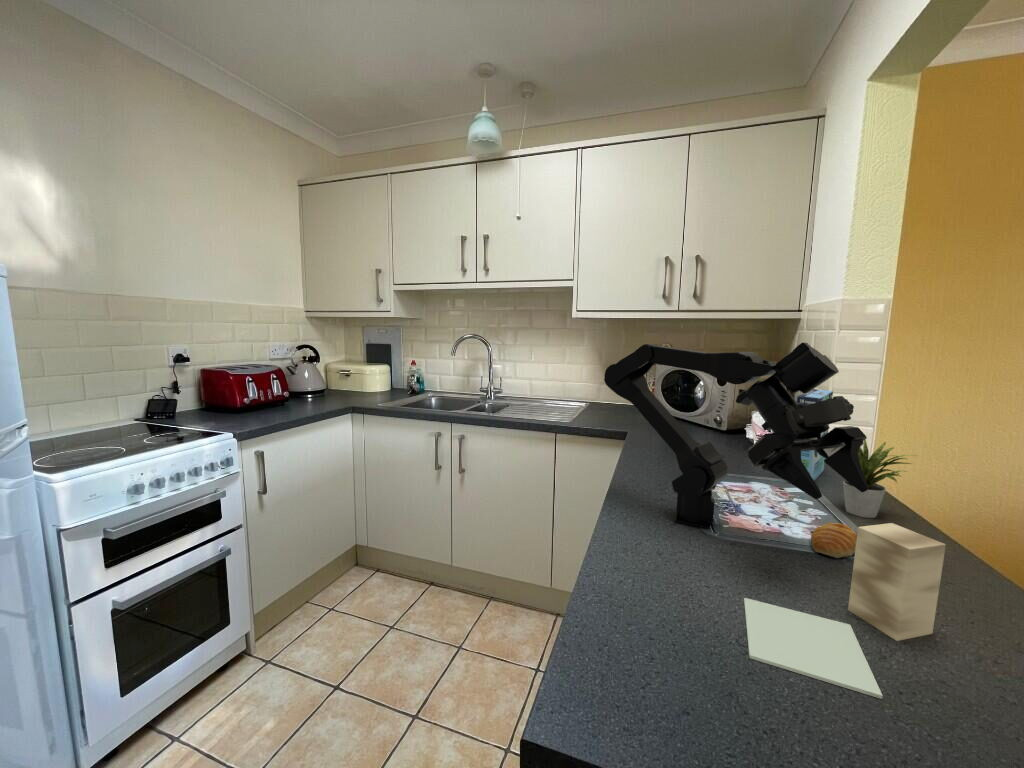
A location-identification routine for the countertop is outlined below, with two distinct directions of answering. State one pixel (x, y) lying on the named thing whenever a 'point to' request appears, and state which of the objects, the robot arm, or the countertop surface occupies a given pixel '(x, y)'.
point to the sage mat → (808, 646)
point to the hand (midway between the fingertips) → (842, 494)
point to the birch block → (896, 580)
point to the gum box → (812, 457)
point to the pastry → (834, 540)
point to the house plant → (870, 482)
